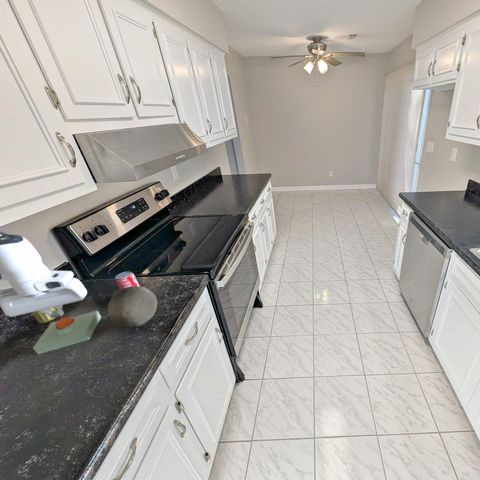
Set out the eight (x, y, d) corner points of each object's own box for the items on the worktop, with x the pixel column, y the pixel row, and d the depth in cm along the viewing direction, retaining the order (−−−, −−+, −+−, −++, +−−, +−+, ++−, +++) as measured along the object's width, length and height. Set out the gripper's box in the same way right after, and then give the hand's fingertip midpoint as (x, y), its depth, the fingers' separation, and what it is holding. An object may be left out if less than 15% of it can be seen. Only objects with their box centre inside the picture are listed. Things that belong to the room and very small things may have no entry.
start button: (55, 330, 86) (52, 327, 85) (61, 322, 89) (58, 319, 88) (69, 326, 87) (67, 323, 86) (74, 319, 91) (72, 315, 90)
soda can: (125, 305, 103) (112, 281, 97) (127, 297, 107) (114, 273, 102) (143, 299, 105) (131, 275, 100) (144, 291, 110) (132, 268, 105)
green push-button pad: (38, 354, 83) (29, 343, 81) (56, 328, 93) (48, 318, 91) (89, 339, 88) (82, 329, 85) (101, 316, 98) (95, 307, 95)
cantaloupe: (114, 325, 93) (95, 293, 86) (156, 304, 102) (142, 273, 95) (125, 345, 84) (105, 311, 77) (169, 320, 93) (155, 288, 87)
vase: (40, 325, 95) (17, 296, 89) (35, 320, 98) (13, 291, 92) (61, 315, 100) (40, 286, 93) (56, 310, 103) (35, 281, 96)
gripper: (-17, 298, 74) (12, 332, 80) (69, 280, 80) (89, 313, 87) (-2, 286, 79) (24, 319, 86) (77, 270, 85) (96, 301, 92)
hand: (57, 315), depth 86 cm, fingers closed
